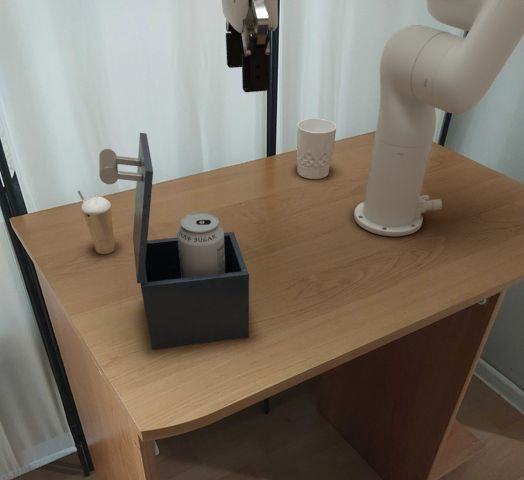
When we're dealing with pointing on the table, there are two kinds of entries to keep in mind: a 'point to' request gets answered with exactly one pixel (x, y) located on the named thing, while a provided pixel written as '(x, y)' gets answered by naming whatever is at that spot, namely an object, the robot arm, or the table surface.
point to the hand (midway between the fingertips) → (247, 78)
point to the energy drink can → (201, 245)
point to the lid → (143, 193)
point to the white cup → (315, 147)
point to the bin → (194, 297)
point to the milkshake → (99, 223)
